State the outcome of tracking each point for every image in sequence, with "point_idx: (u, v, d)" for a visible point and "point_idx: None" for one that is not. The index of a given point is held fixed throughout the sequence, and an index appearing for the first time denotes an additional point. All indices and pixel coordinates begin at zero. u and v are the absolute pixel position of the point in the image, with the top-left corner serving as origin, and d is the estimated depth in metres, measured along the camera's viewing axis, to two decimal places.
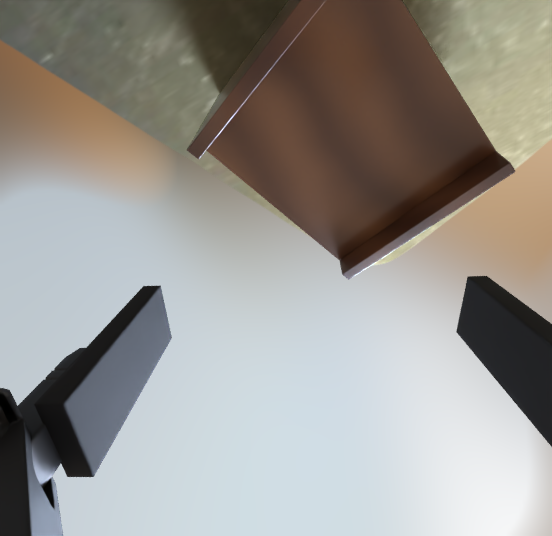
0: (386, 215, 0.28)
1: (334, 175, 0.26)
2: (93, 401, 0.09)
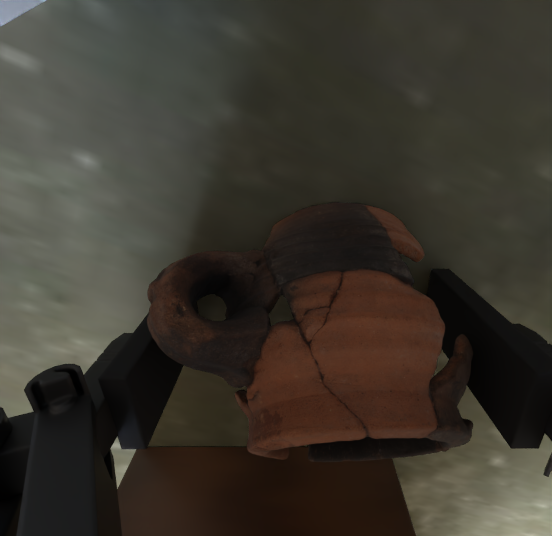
0: None
1: None
2: (145, 379, 0.10)
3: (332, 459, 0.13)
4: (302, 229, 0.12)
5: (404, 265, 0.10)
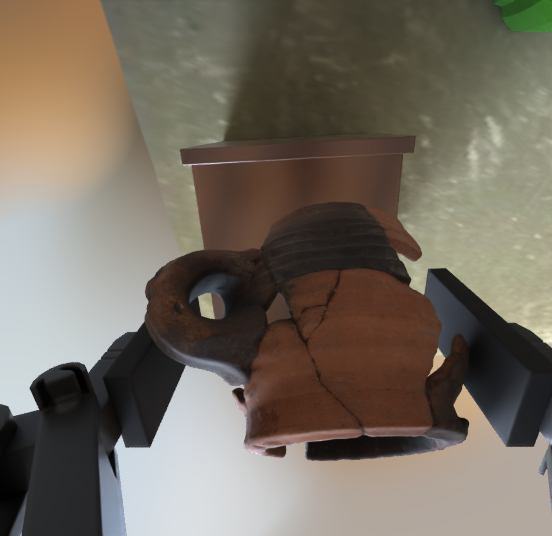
0: None
1: None
2: (149, 377, 0.10)
3: (329, 458, 0.13)
4: (300, 228, 0.12)
5: (401, 264, 0.10)
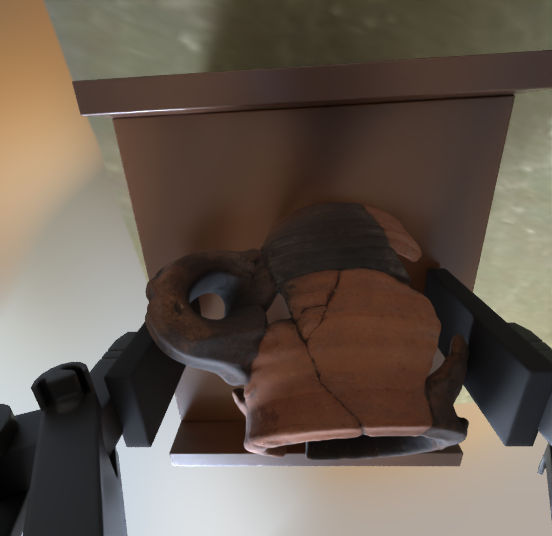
0: None
1: (266, 312, 0.16)
2: (150, 377, 0.10)
3: (329, 457, 0.13)
4: (300, 229, 0.12)
5: (401, 264, 0.10)
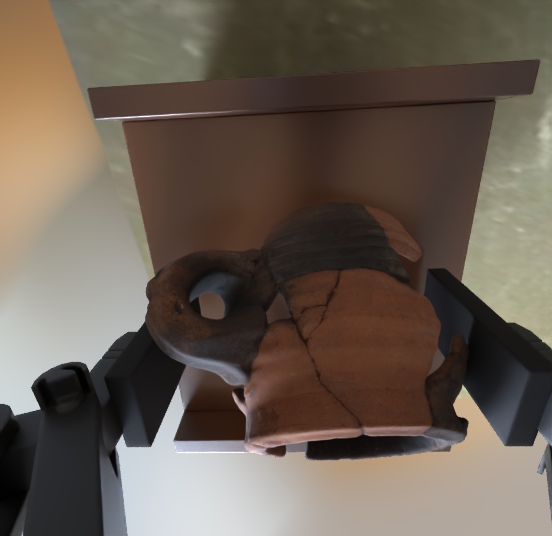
0: None
1: None
2: (150, 377, 0.10)
3: (329, 457, 0.13)
4: (300, 229, 0.12)
5: (401, 264, 0.10)
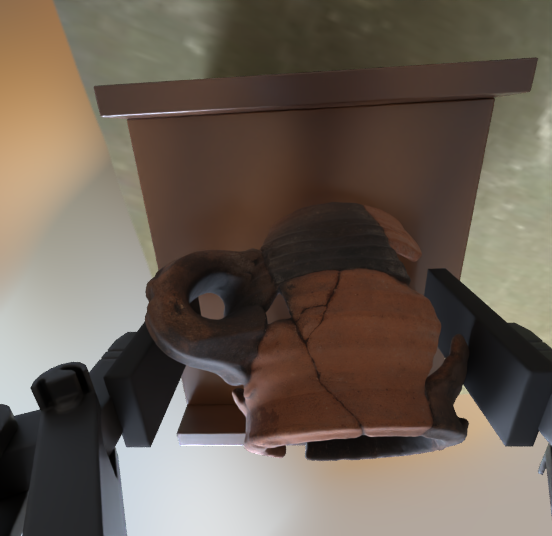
0: None
1: None
2: (149, 377, 0.10)
3: (329, 458, 0.13)
4: (300, 229, 0.12)
5: (401, 264, 0.10)
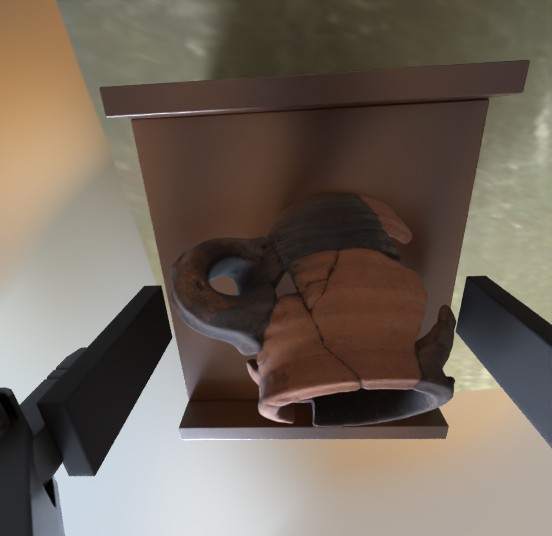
0: None
1: None
2: (94, 400, 0.09)
3: (334, 424, 0.15)
4: (303, 217, 0.13)
5: (392, 244, 0.11)
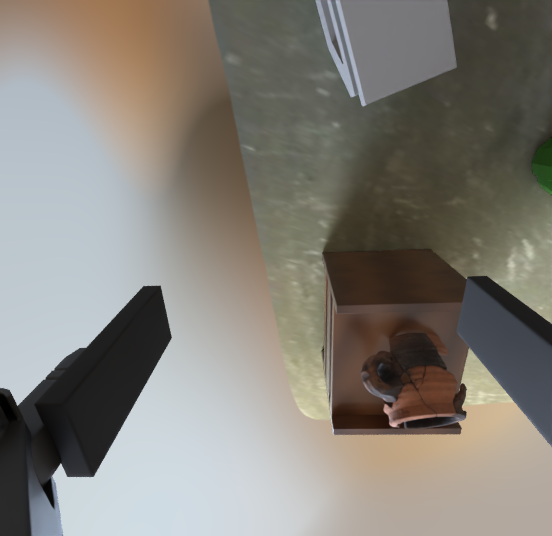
0: (381, 408, 0.40)
1: None
2: (93, 401, 0.09)
3: (414, 427, 0.35)
4: (405, 346, 0.34)
5: (443, 363, 0.32)
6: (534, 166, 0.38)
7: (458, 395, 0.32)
